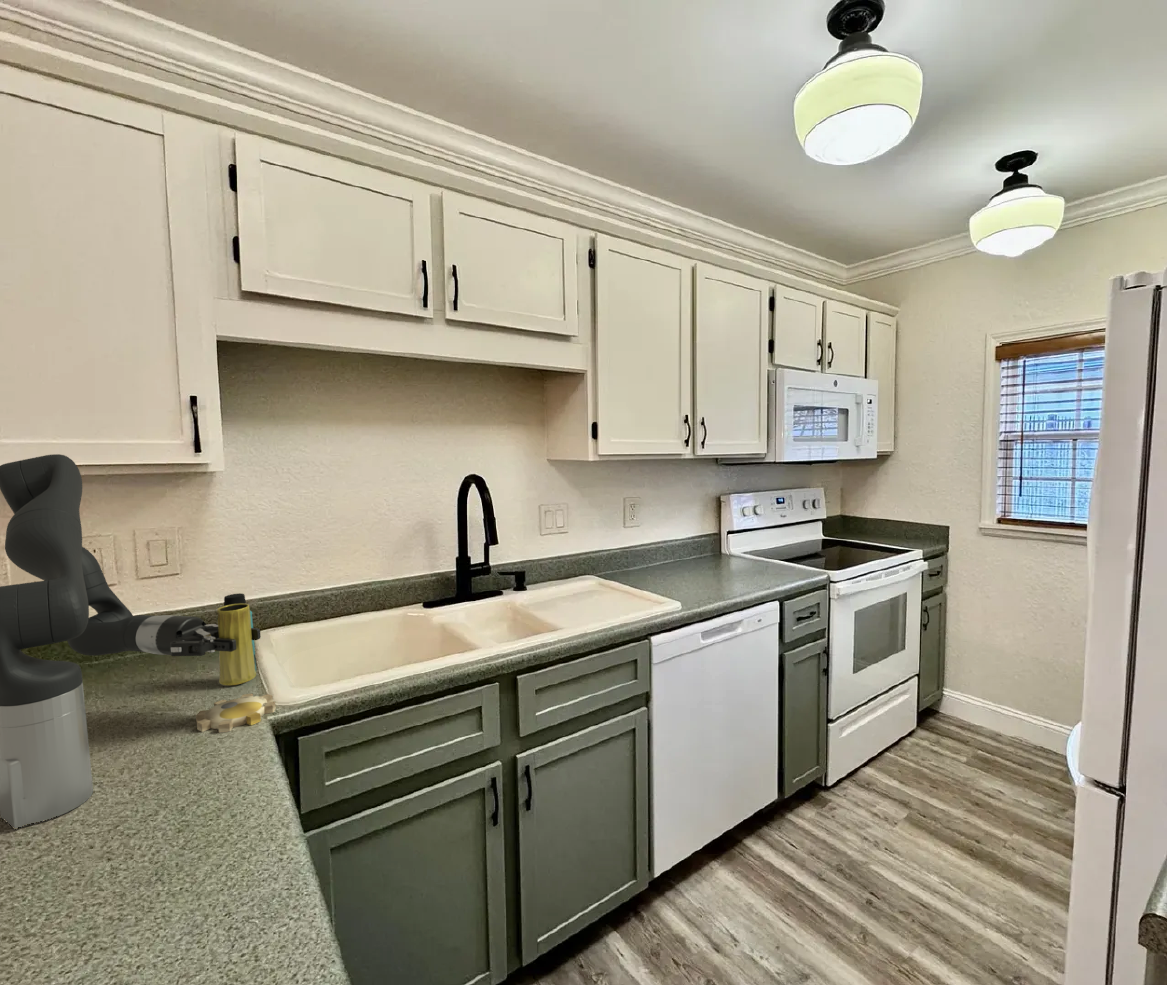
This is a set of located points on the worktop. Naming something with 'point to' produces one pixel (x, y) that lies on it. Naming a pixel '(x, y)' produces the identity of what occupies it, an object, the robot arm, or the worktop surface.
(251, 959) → the worktop surface
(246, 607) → the vase
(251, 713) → the sprocket board
